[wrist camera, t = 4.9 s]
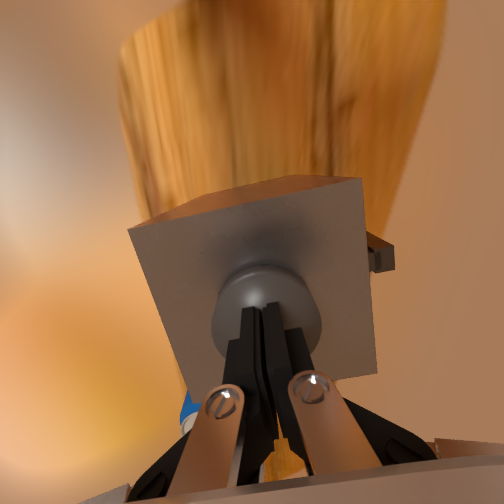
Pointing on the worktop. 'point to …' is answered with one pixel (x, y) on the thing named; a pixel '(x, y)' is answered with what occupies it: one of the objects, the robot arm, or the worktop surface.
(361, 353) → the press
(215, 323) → the plunger
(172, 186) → the worktop surface
